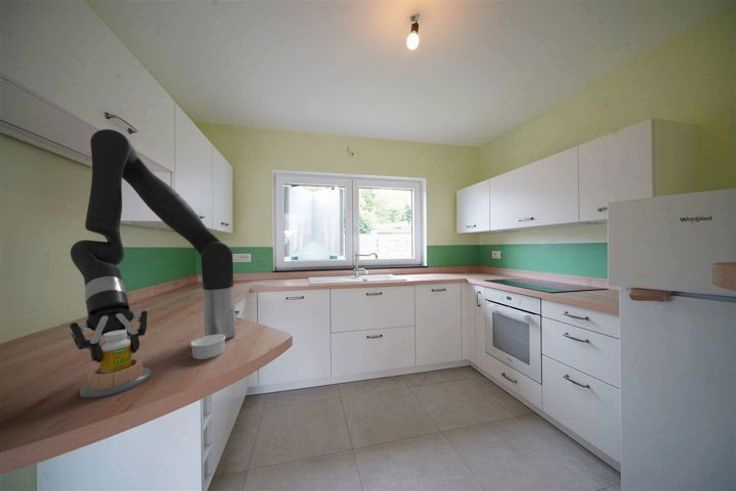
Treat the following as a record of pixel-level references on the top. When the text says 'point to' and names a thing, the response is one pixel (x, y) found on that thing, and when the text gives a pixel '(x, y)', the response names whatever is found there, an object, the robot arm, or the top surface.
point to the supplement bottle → (115, 352)
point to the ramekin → (208, 346)
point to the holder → (115, 380)
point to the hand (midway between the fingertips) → (117, 355)
